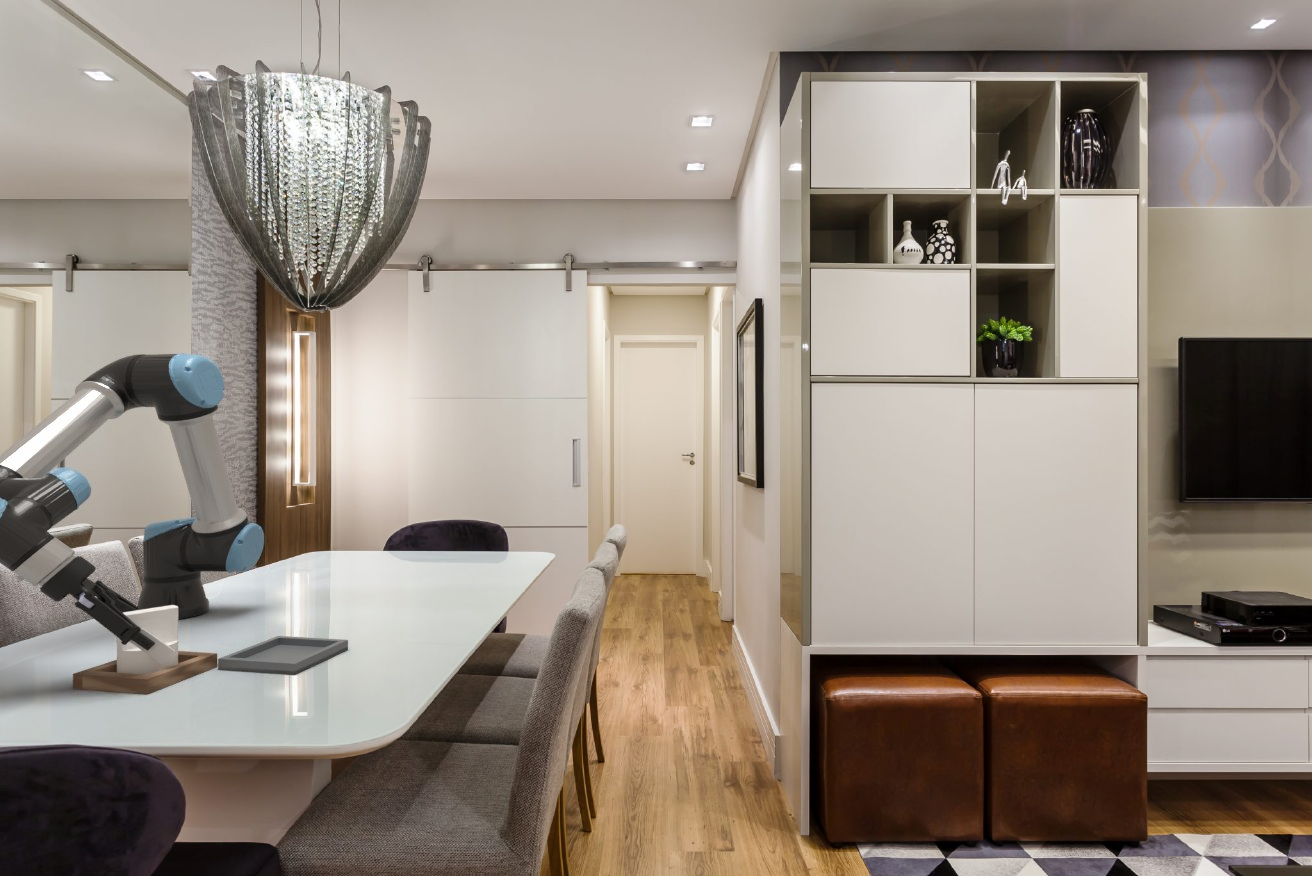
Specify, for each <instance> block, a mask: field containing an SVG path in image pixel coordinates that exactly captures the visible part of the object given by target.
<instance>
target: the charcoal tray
mask: <svg viewBox="0 0 1312 876" xmlns="http://www.w3.org/2000/svg"><path fill="white" fill-rule="evenodd" d="M348 650H349V639H343V638H342V639H340V638H339V639H337V638H326V637H325V638H322V637H308V636H307V637H306V636H305V637H304V636H287V635H286V636H285V635H277V636H274V637H272V638H270V639H267V640H264V641H260V642H259V643H257V644H254V645H253V644H252V645H251V646H248V647H245V648H243V649H240V650H238V651H235V652H233V653H229V654H227V655H225V656H222V657H220V658H217V670H221V671H232V672H248V673H251V672H252V673H262V674H280V675H290V676H291V675H292V676H293V675H294V676H295V675H297V674H299V673H302V672H304V671H306V670H308V669H310V668H312V667H314V666H317V665H318V664H320V663H323V662H325V661H327V660H329V659H332V658H333V657H335V656H337V655H340V654H342V653H345V652H347V651H348Z"/></svg>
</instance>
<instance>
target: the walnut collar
mask: <svg viewBox="0 0 1312 876" xmlns="http://www.w3.org/2000/svg"><path fill="white" fill-rule="evenodd" d="M216 668H218V653H217V652H200V651H189V650H188V651H184V650H178V664H176V665H173V666H170V667H168V668H165V669H162V670H160V671H157V672H154V673H151V674H149V675H144V674H130V673H117V659H114V660H111V661H108V662H104V663H102V664H98V665H95V666H92V667H90V668H87V669H84V670H81V671H78V672H74V673H73V674H72V689H75V690H88V691H89V690H90V691H101V692H113V693H115V692H116V693H126V694H127V693H128V694H141V695H142V694H143V695H149V694H152V693H154V692H157V691H160V690H162V689H164V688H167V687H169V686H172V685H174V684H177V683H180V682H183V681H184V680H187V679H190V678H193V677H196V676H197V675H200V674H203V673H205V672H208V671H210V670H212V669H216Z"/></svg>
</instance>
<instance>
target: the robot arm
mask: <svg viewBox="0 0 1312 876" xmlns="http://www.w3.org/2000/svg"><path fill="white" fill-rule="evenodd" d="M225 387H226V386H225V380H224V377H223V373H222V372H221V370H220V369H219V367H218V365H217V364H216V363H215V362H213V360H211V359H209V358H208V357H206V356H204V355H199V354H190V353H183V352H182V353H166V354H165V353H162V354H160V353H159V354H156V353H155V354H142V353H140V354H132V355H127V356H124V357H122V358H119V359H116V360H114V361H112V362H110V363H108V364H106V365H105V366H103V367H102V368H98V370H96V371H95V372H93V373H91V374H90V375H89V376H88V377H86V378H84V379H83V380H82V381H81V382H80V383H79V384H78V385H77V386H76V387H75V389H74V395H72V396H71V397H70V398H69V399H67V401H65V402H63V404H61V405H60V406H59V407H58V408H57V409H55V410H54V411H53V412H52V413H51V414H49V415H48V416H47V417H45V418H44V419H43V420H42V421H41V422H39V423H38V424H37V425H36V426H34V427H33V428H32V429H31V430H30V431H28V432H27V433H26V434H25V435H23V436H22V437H21V438H20V439H18V440H17V441H16V442H14V443H13V444H12V445H11V446H10V447H8V448H7V449H6V450H5V451H4V452H2V453H1V454H0V564H1V565H2V566H4V567H6V569H9V570H10V571H11V572H13V573H14V574H16V575H17V576H16V579H17V581H18V582H22V581H24V580H25V581H26V582H27V583H29V584H30V585H32V586H33V587H36V586H38V585H39V586H40V587H39V592H41V593H42V594H44V595H45V596H47V597H49V599H51V600H53V601H54V602H61V601H62V600H63V599H65V598H66V597H67V596H68V595H71V596H72V597H73V598H74V599H75V600H76V602H75V603H74V605H75V607H76V608H78V609H79V610H81V611H82V612H84V613H86V614H87V615H89V616H90V617H91V618H93V619H94V620H95V621H96V622H97V623H99V624H100V625H101V626H103V627H104V628H105V629H106V630H108V631H109V632H110V633H112V634H113V635H114V636H115V637H116V638H117V637H118V638H119V639H120V640H121V641H122V642H121V643H122V644H124V645H126V644H127V643H128V642H131V643H132V644H133V645H135V646H136V647H138V648H139V649H141V650H142V651H143V652H145V653H146V654H148V655H149V656H151V657H152V658H154V659H155V660H156V661H158V662H159V663H161V664H162V663H163V662H164V661H165V660H166V659H167V658H168V657H169V656H170V655H171V654H173V653H174V652H175V650H173V649H172V648H171V647H169V646H168V645H166V644H165V643H164V642H162V641H161V640H159V639H158V638H157V637H155V636H154V635H152V634H151V633H150V632H148V631H147V630H145V629H144V628H143V629H142V630H141V629H140V627H139V626H137V625H136V624H135V623H134V622H133V621H131V620H130V619H129V618H128V617H127V616H126V615H125V614H123V612H130V611H136V610H143V609H149V608H156V607H163V606H169V605H175V606H178V620H181V619H188V618H191V617H197V616H200V615H203V614H205V613H208V612H209V611H210V601H209V599H208V598H207V596H206V592H205V588H204V586H203V583H202V578H201V577H202V575H201V574H202V573H201V572H203V573H204V572H205V573H207V572H210V573H211V572H213V573H214V572H216V573H217V572H218V573H219V572H221V573H222V572H224V573H229V574H230V573H231V574H232V573H237V572H238V573H239V572H242V573H243V572H247V571H249V570H250V569H252V568H253V567H254V566H255V565H256V564H257V562H258V561H259V560H260V557H261V555H262V552H263V549H264V545H265V533H264V530H263V528H262V527H261V526H260V525H259V524H258V523H253V522H250V521H249V518H248V517H249V516H248V514H247V512H246V511H245V510H244V509H242V508H239V507H238V505H237V500H236V497H235V494H234V490H233V486H232V483H231V479H230V476H229V471H228V468H227V464H226V461H225V457H224V453H223V450H222V447H221V441H220V438H219V435H218V431H217V428H216V424H215V420H214V415H215V414H216V413H217V412H218V410H219V406H218V405H219V404H220V403H221V402H222V401H223V399H224V396H225V393H224V390H225ZM137 408H154V409H155V412H156V415H157V417H158V418H157V419H158V420H159V421H160V422H161V423H164V424H166V425H168V426H169V429H170V433H171V437H172V439H173V444H174V446H175V449H176V455H177V457H178V461H179V463H180V466H181V471H182V473H183V477H184V480H185V483H186V487H187V489H188V493H189V497H190V501H191V503H192V504H191V505H192V506H193V507H192V508H193V510H194V514H195V516H194V517H187V518H180V519H179V518H178V519H172V520H165V521H157V522H152V523H151V522H150V523H149V524H148V525H146V526H145V528H144V530H143V540H142V544H143V545H142V548H143V552H142V555H143V559H142V560H143V563H142V564H143V586H142V589H141V591H140V595H139V598H138V602H137V605H136V604H135V603H133V602H131V601H130V600H128V599H127V598H125V597H124V596H123V595H120V594H119V593H117V592H116V591H114V590H113V589H111V588H110V587H108V586H107V585H106V584H105V583H104V582H102V581H101V580H98V579H97V580H96V581H93V580H91V579H89V577H90V576H92V574H94V572H95V571H96V569H97V568H96V566H95V564H92V563H91V562H89V561H88V560H87V559H85V558H84V557H83V556H82V555H81V556H79V555H77V556H75V553H76V552H75V550H74V549H73V548H71V547H70V546H69V545H67V544H65V543H64V542H62V541H61V540H60V539H59V538H58V537H55V536H54V535H52V534H51V533H50V532H49V530H51V529H52V527H54V526H55V525H57V524H58V523H59V522H61V521H62V520H64V519H65V518H67V517H68V516H69V515H71V514H72V513H73V512H74V511H77V510H78V509H79V508H80V506H82V504H84V503H85V502H86V501H87V500H88V499H89V498H90V496H91V493H92V486H91V484H90V482H89V481H88V479H87V477H85V476H84V475H83V474H82V473H81V472H79V471H77V470H75V469H73V468H70V467H57V466H58V465H59V464H60V463H61V462H62V461H64V460H65V459H66V458H67V457H68V456H69V455H71V454H72V452H73V451H75V450H76V449H77V448H78V447H79V446H81V444H83V442H85V441H86V440H87V439H88V438H89V437H90V436H92V435H93V434H94V433H95V432H96V431H97V430H99V429H100V427H102V426H103V425H104V424H105V423H106V422H107V421H109V420H114V419H117V418H119V417H121V416H122V415H123V414H124V413H126V412H128V411H130V410H132V409H137ZM56 467H57V468H56Z"/></svg>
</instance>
